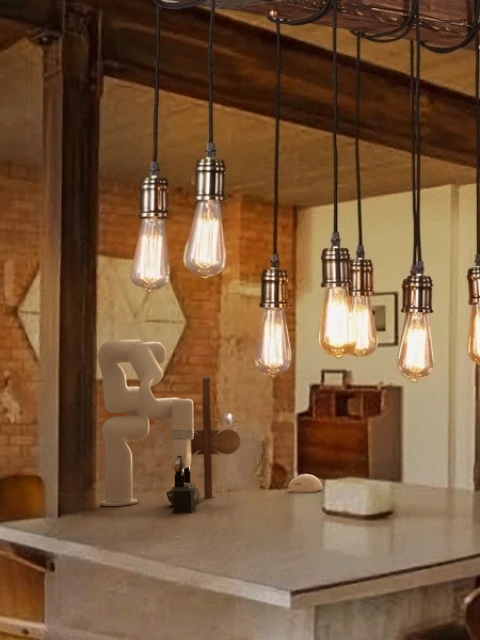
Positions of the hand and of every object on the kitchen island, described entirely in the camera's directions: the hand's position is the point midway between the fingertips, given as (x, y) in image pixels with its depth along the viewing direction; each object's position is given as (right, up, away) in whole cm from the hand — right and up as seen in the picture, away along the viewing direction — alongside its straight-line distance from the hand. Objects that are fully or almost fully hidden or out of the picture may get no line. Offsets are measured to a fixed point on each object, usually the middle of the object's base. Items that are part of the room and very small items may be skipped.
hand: (182, 484), depth 375 cm
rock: (-3, -11, +18) cm, 21 cm away
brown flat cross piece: (+3, -12, +31) cm, 34 cm away
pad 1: (+1, -4, -1) cm, 4 cm away
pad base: (+1, -9, -1) cm, 9 cm away
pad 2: (+1, -7, -1) cm, 7 cm away
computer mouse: (+39, -12, +42) cm, 58 cm away
